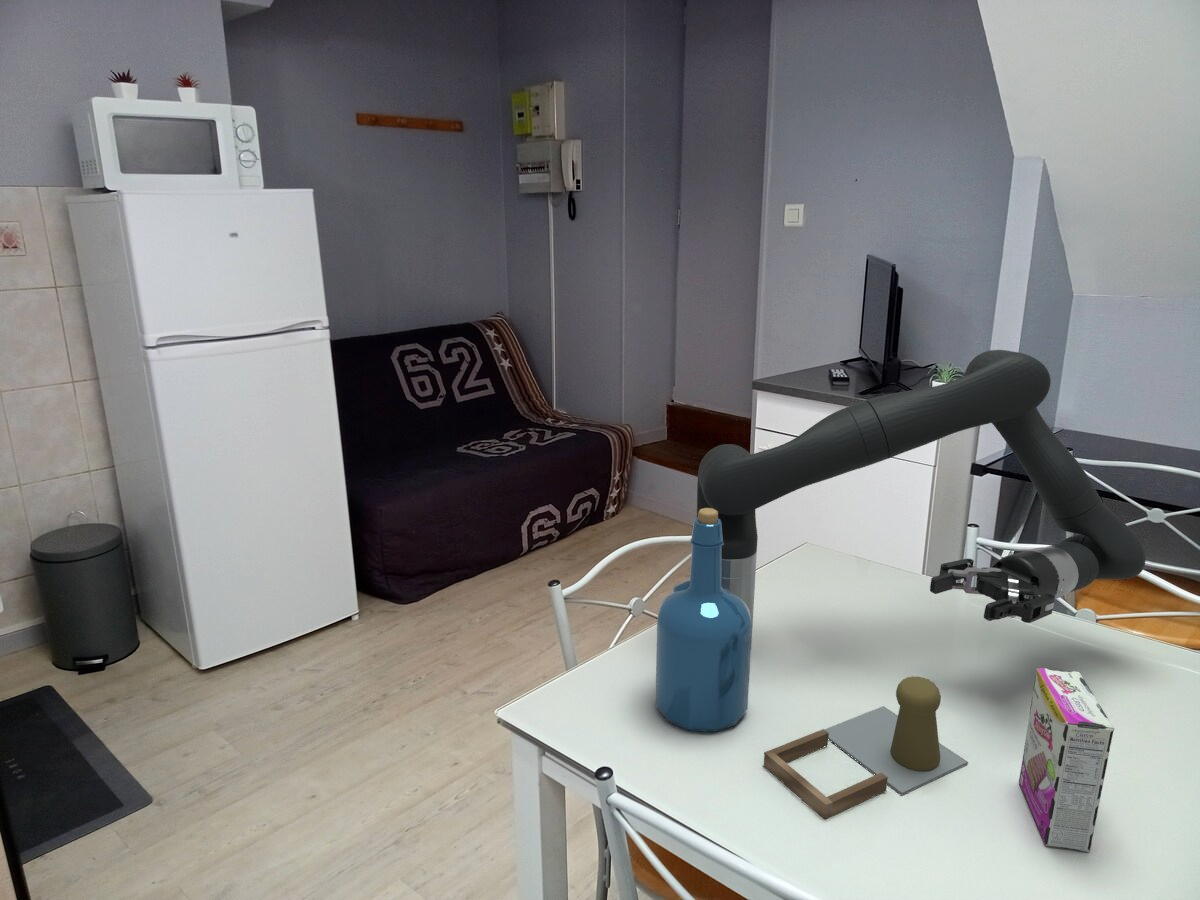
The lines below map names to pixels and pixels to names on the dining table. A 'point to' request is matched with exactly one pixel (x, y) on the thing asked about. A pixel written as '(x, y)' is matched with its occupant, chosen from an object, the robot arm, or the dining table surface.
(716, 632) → the wine bottle
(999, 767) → the dining table surface
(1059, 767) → the candy bar box
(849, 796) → the wooden u-shaped frame
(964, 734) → the dining table surface
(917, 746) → the cork
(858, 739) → the slate mat
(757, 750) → the dining table surface
